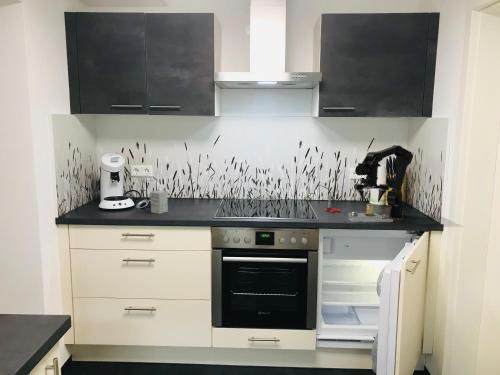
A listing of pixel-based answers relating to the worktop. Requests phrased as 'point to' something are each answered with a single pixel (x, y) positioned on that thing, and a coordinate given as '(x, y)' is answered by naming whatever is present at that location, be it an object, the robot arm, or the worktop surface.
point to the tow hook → (330, 205)
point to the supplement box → (159, 202)
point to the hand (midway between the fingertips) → (370, 201)
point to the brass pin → (370, 210)
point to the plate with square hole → (368, 217)
